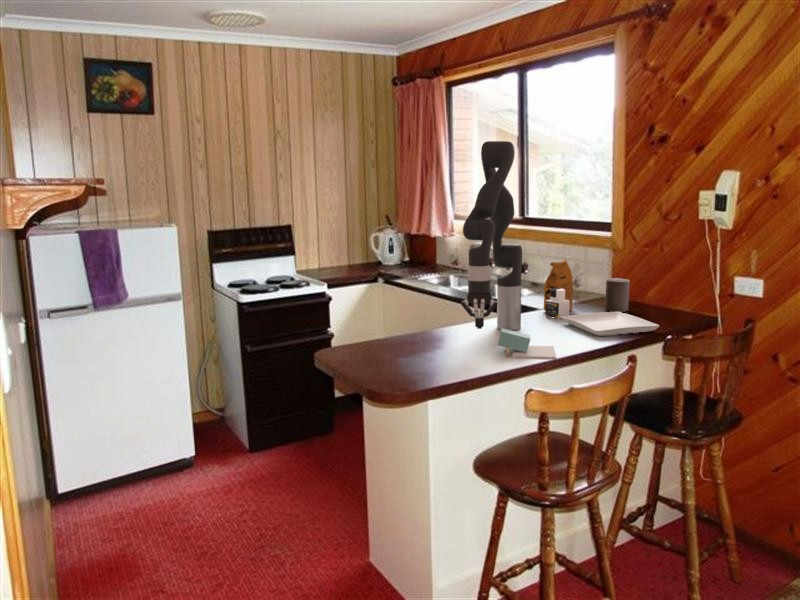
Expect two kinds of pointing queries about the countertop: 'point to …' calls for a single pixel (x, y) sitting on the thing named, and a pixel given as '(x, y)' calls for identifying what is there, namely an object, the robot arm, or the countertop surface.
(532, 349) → the mat
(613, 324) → the square plate
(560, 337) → the countertop surface
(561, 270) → the coffee package
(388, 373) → the countertop surface
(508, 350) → the rail
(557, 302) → the medicine bottle
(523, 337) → the teal block
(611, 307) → the pillar candle
